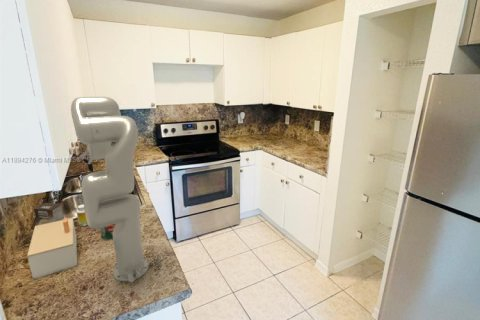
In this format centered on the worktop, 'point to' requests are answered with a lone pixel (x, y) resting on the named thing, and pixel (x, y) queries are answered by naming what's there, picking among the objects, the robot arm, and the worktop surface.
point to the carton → (54, 260)
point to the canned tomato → (107, 232)
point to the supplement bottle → (81, 215)
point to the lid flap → (51, 237)
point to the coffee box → (48, 213)
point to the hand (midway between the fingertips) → (102, 169)
